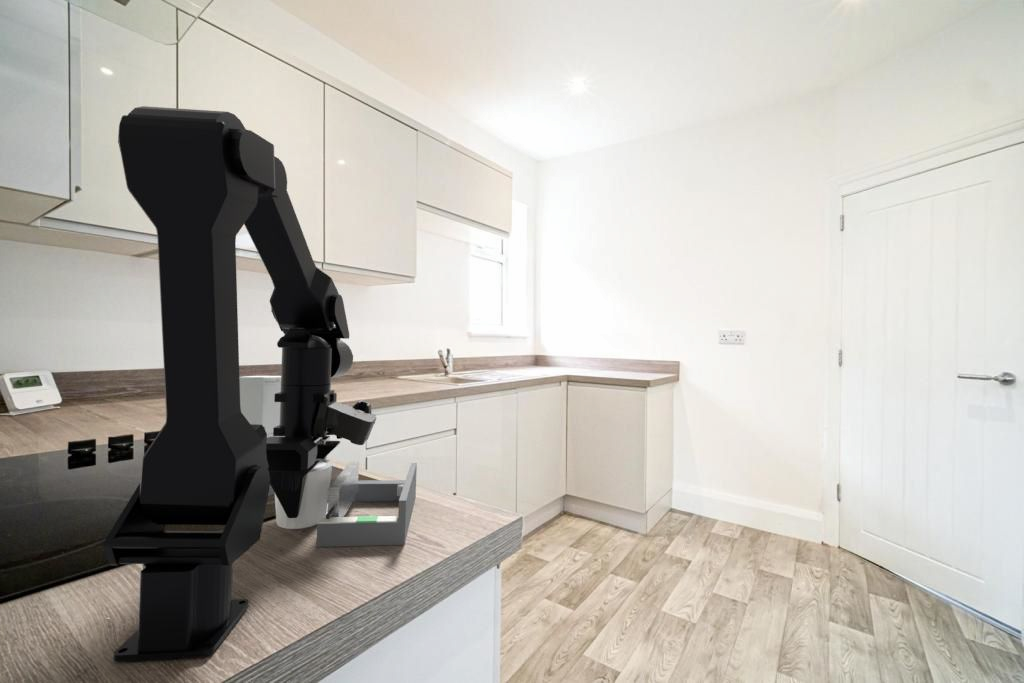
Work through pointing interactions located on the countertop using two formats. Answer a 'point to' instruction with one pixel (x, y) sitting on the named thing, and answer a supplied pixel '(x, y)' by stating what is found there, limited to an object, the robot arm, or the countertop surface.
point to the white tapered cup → (309, 499)
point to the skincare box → (261, 401)
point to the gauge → (373, 527)
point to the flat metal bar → (343, 491)
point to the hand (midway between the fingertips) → (302, 507)
